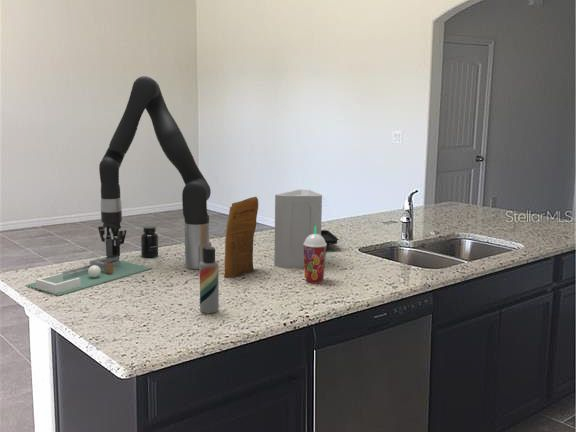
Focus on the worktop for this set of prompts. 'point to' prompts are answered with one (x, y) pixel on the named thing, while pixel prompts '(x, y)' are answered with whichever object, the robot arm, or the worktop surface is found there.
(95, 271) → the ball
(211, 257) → the lotion bottle
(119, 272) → the field
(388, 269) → the worktop surface
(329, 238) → the tray
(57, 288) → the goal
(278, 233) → the paper bag
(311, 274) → the smoothie
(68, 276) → the rail
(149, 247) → the supplement bottle
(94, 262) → the block
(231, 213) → the pancake mix bag
